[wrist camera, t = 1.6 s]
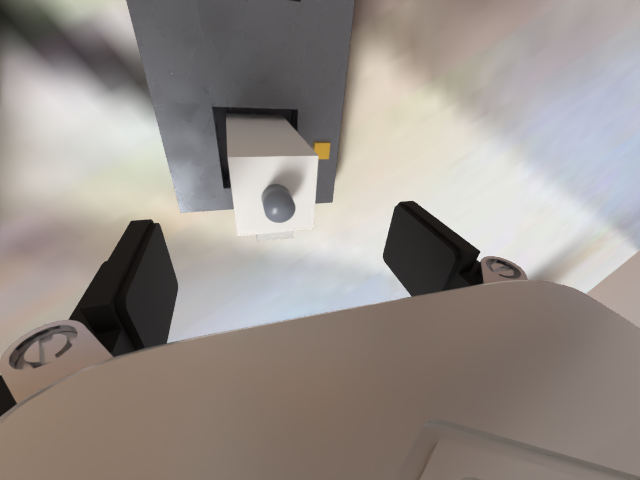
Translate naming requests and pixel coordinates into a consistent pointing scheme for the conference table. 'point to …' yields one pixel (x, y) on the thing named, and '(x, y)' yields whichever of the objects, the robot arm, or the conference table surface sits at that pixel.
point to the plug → (270, 176)
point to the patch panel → (241, 81)
